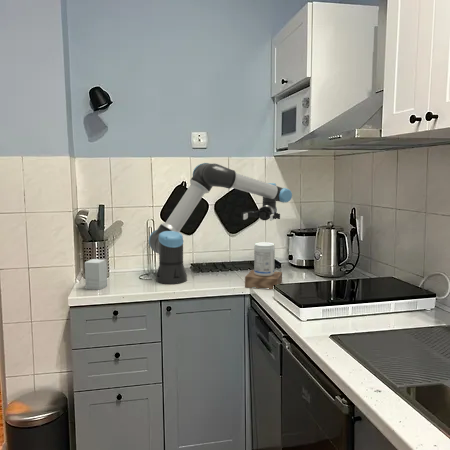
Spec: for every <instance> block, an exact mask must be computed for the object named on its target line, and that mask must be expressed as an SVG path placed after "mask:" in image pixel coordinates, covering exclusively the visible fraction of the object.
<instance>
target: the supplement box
mask: <svg viewBox="0 0 450 450" xmlns="http://www.w3.org/2000/svg"><path fill="white" fill-rule="evenodd" d="M107 267H108V266H107V259H100V258H99V259H98V258H92V259H89V260H87V261H85V262H84V278H85V290H97V291H99V290H102V289H104V288H107V287H108V274H107V273H108V272H107V271H108V270H107Z"/></svg>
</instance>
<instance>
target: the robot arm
mask: <svg viewBox="0 0 450 450" xmlns="http://www.w3.org/2000/svg"><path fill="white" fill-rule="evenodd" d="M189 183H190V185H189V187H187V190H186V191H185V192H184V194H183V195H182V197H181V198H180V200H179V202H178V203H177V204H176V206H175V207H174V209H173V210H172V212H171V214H170V215H169V217H168V218H167V220H166V221H165V222H162V223H160V225H159V227H158V228H157V229H156V230H154V231H152V232H151V233H150V235H149V236H148V244H149V247H150V249H151V250H152V251H153V252H155V253H156V254H158V259H159V260H158V261H159V263H158V268H157V271H156V274H155V281H156V282H157V283H159V284H165V285H166V284H167V285H174V284H181V283H182V284H183V283H185V282H187V281H188V274H187V272H186V269H185V265H184V237H183V234H182V233H181V232H180V231H181V230H182V228H183V227H184V226H185V224H186V223H187V221H188V219H189V218H190V216H191V215H192V214H193V212H194V210H195V208H196V207H197V206H198V204H199V203H200V201H201V200H202V198H203V197H204V195H205V194H209V193H210V192H211V189H213V187H214V188H215V187H216V188H218V187H219V188H224V189H225V188H226V189H229V190H230V189H235V190H239V191H242V192H246V193H248V194H249V193H250V194H254V195H256V196H259V197H262V206H261V207H259V209H258V210H254V211H253V210H250V211H243V212H241V218H242V220H244V221H245V220H247V219H248V218H256V219H257V218H258V219H260V220H261V221H271V222H272V221H274V220H276V219H277V220H280V219H281V214H280V213H278V212H277V211H278V208H277V202H278V203H288V202H290V201H291V200H292V196H293V193H292V190H290V188H286V187H280V186H278V185H277V184H276V183H274V182H265V181H262V180H259V179H256V178H253V177H249V176H246V175H243V174H240V173H237V172H236V171H235V170H233V169H231V168H228V167H226V166H223V165H222V164H218V163H209V162H204V163H200V164H198V165H197V166H195V167H194V169H193V171H192V177H191V178H190V179H189Z"/></svg>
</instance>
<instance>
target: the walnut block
mask: <svg viewBox="0 0 450 450" xmlns="http://www.w3.org/2000/svg"><path fill="white" fill-rule="evenodd" d="M282 283H283V271H274V274H273V275H272V276H258V275H256V274H255V273H254V269H252V270H250V271H249V272H248V273H247V274H246V275H245V276H244V287H245V288H249V289H253V288H252V287H256V288H255V289H259V288H269V289H268V290H271V289H273V286H274V285H277V284H282Z"/></svg>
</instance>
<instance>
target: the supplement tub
mask: <svg viewBox="0 0 450 450" xmlns="http://www.w3.org/2000/svg"><path fill="white" fill-rule="evenodd" d="M275 249H276V248H275V244H274V243H273V242H268V241H260V242H256V243H254V248H253V250H254V251H253V256H254V257H253V258H254V259H253V263H254V264H253V265H254V266H253V267H254V268H253V270H254V273H255V274H256V275H258V276H272V275H273V274H274V272H275V257H276V256H275Z"/></svg>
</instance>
